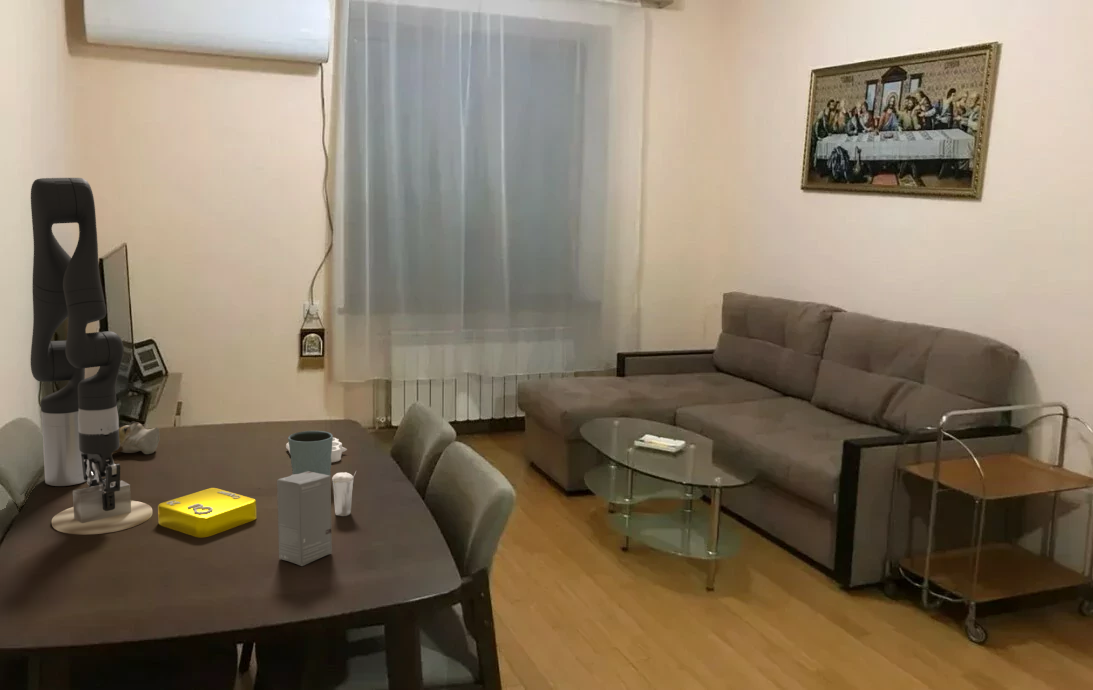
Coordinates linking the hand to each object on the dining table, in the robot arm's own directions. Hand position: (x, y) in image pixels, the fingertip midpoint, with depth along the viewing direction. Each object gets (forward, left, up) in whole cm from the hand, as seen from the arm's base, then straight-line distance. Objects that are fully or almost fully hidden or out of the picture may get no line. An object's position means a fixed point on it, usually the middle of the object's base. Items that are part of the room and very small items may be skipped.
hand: (102, 505), depth 189 cm
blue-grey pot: (+10, +44, -3) cm, 45 cm away
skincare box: (+46, +19, -3) cm, 50 cm away
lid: (0, 0, -3) cm, 3 cm away
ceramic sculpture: (-44, +25, -3) cm, 50 cm away
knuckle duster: (-11, +60, -3) cm, 61 cm away
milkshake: (+32, +38, -3) cm, 50 cm away
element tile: (+16, +15, -3) cm, 22 cm away
